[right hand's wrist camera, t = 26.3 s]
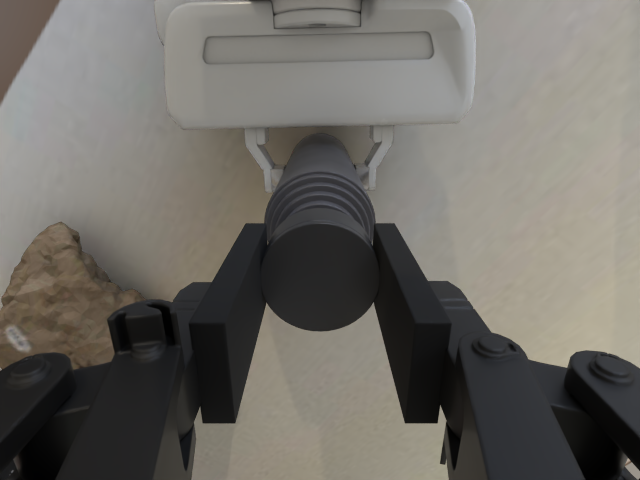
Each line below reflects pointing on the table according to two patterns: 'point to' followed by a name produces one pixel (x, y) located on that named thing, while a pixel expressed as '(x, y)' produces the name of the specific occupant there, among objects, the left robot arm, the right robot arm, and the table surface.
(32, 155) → the table surface
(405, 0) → the left robot arm
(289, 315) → the cap
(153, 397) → the right robot arm
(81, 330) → the stone
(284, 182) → the bottle
